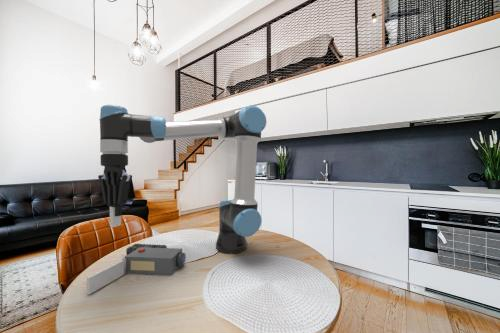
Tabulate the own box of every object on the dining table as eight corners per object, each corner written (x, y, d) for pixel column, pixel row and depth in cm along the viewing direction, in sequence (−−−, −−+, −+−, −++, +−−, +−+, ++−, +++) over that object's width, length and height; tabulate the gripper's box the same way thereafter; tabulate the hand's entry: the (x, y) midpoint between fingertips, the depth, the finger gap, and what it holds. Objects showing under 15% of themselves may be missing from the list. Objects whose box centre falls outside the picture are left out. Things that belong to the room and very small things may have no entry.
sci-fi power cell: (159, 253, 83) (172, 244, 93) (117, 250, 85) (134, 242, 95) (159, 263, 83) (172, 253, 92) (117, 260, 85) (134, 251, 95)
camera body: (187, 263, 82) (187, 246, 82) (177, 275, 73) (177, 256, 73) (139, 261, 83) (139, 245, 83) (124, 273, 74) (124, 254, 74)
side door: (89, 295, 61) (89, 277, 61) (85, 294, 62) (85, 276, 62) (127, 273, 74) (127, 258, 74) (123, 272, 74) (123, 257, 74)
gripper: (139, 153, 68) (140, 224, 68) (112, 155, 72) (113, 221, 72) (117, 152, 61) (118, 231, 61) (89, 154, 65) (90, 227, 65)
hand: (115, 225), depth 66 cm, fingers closed
